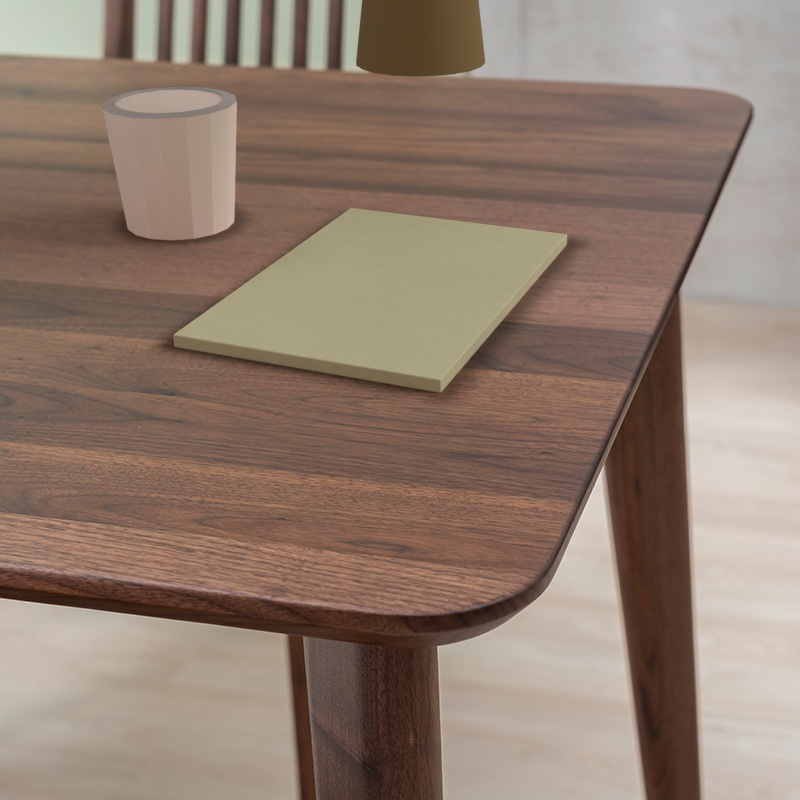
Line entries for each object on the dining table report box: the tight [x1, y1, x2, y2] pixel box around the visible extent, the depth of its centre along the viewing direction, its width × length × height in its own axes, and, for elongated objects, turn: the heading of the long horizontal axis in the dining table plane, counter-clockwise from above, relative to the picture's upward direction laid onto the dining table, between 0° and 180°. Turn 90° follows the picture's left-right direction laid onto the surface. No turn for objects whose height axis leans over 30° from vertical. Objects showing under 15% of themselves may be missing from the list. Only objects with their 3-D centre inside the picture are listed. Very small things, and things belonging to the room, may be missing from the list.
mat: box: [172, 207, 568, 394], centre depth 58 cm, size 18×12×1 cm, turn 158°
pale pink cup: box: [101, 86, 238, 241], centre depth 66 cm, size 7×7×7 cm
